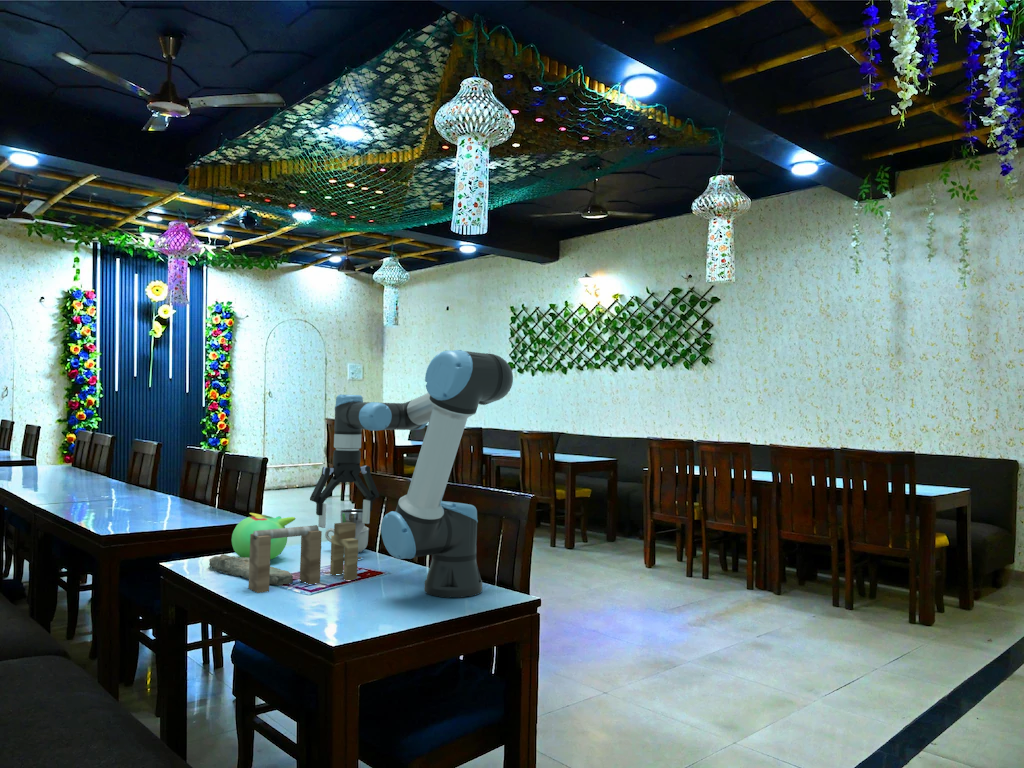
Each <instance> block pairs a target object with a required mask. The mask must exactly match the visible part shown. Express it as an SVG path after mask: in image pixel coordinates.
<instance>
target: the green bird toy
mask: <svg viewBox="0 0 1024 768" xmlns="http://www.w3.org/2000/svg"><path fill="white" fill-rule="evenodd" d="M249 515H251V516H248V517H246V518H244V519H242V520H240V521H239V522H238V523H237V524H236V526H235V528H234V529H233V531H232V534H231V545H232V549H233V550H234V553H235V554H236V555H238V556H239V558H241V557H244V558H245V557H247V558H248V557H249V558H250V534H253V533H254V531H259V530H270V529H281V528H286V526H287V525H289V524H290V523H292V522H294V521H295V520H296V517H294V516H288V517H283V518H282V516H276V517H273V516H270V515H266V514H259V513H255V512H249ZM287 542H288V537H284V538H274V539H271V549H270V561H271V560H274V559H276V558H277V557H278V556H279V555H280V554H282V552H283V551H284V550H285V548H286V545H287V544H288V543H287Z"/></svg>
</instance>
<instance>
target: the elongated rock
mask: <svg viewBox="0 0 1024 768" xmlns="http://www.w3.org/2000/svg"><path fill="white" fill-rule="evenodd" d="M249 560H250V558H249V557H248V558H247V557H245V558H244V557H236V556H231V555H227V554H223V553H221V554H220V555H215V556H213V557H211V558H209V568H212V569H214V570H215V571H217V570H218V571H217V572H220V571H221V572H220V573H222V572H223V573H226V574H225V575H232V576H236V577H239V576H241V577H242V578H244V579H246V580H247V579H248V580H249ZM293 582H294V577H293V574H292V573H291V572H290V571H288V570H283V569H280V568H278V567H275V566H274V567H273V566H270V577H269V585H273V586H274V585H275V586H284V585H283V584H287V585H290V584H289V583H291V584H293Z"/></svg>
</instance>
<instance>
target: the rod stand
mask: <svg viewBox="0 0 1024 768" xmlns="http://www.w3.org/2000/svg"><path fill="white" fill-rule="evenodd" d="M319 528H320V527H318V525H317V524H316V525H315V524H314V525H313V524H312V525H303V526H296V527H295V526H294V527H285V528H281V529H270V530H259V531H254V533H253V534H250V560H249V579H248V590H251V591H253V592H254V591H255V592H254V593H256V592H257V594H261V593H267V591H268V592H270V584H269V577H270V567H271V560H270V549H271V539H274V538H284V537H287V538H293V537H300V538H301V539H300V560H299V563H300V565H299V566H300V567H299V581H300V580H301V581H303V582H306V583H308V584H315V583H320V584H321V567H322V566H321V565H322V564H321V560H322V532H323V531H322V530H320V529H319ZM301 581H300V582H301ZM303 582H302V583H303ZM308 584H307V585H308ZM315 585H316V584H315ZM260 592H261V593H260Z"/></svg>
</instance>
